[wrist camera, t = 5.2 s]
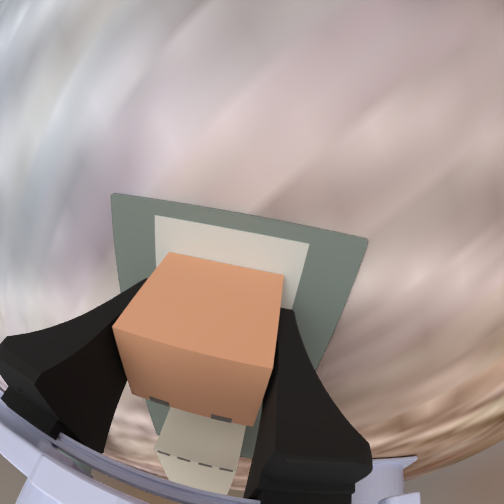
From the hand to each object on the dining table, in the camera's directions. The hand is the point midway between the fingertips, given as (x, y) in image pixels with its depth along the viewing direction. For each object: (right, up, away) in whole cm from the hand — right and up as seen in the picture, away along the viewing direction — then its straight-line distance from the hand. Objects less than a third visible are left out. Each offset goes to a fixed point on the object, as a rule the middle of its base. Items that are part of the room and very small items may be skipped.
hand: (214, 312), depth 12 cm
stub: (0, +1, +2) cm, 2 cm away
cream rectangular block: (-2, -11, +8) cm, 14 cm away
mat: (-1, -6, +5) cm, 8 cm away
